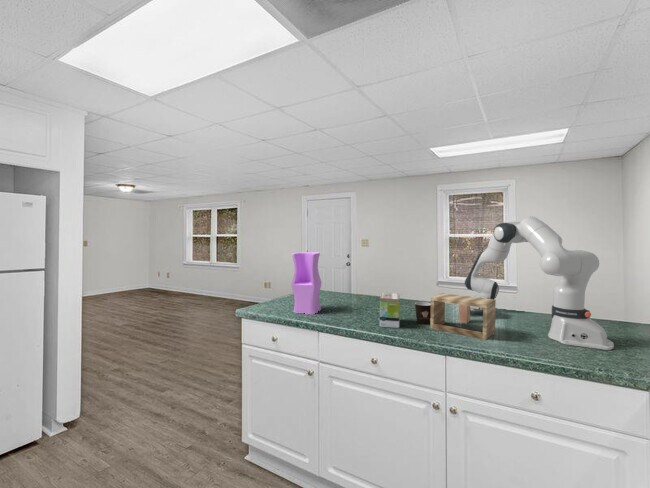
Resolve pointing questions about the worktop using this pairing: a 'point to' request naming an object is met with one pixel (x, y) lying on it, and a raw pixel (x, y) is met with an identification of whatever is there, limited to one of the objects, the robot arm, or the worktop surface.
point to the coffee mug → (423, 312)
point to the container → (306, 282)
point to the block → (464, 313)
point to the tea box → (389, 310)
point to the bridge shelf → (486, 304)
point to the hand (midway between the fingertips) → (470, 307)
